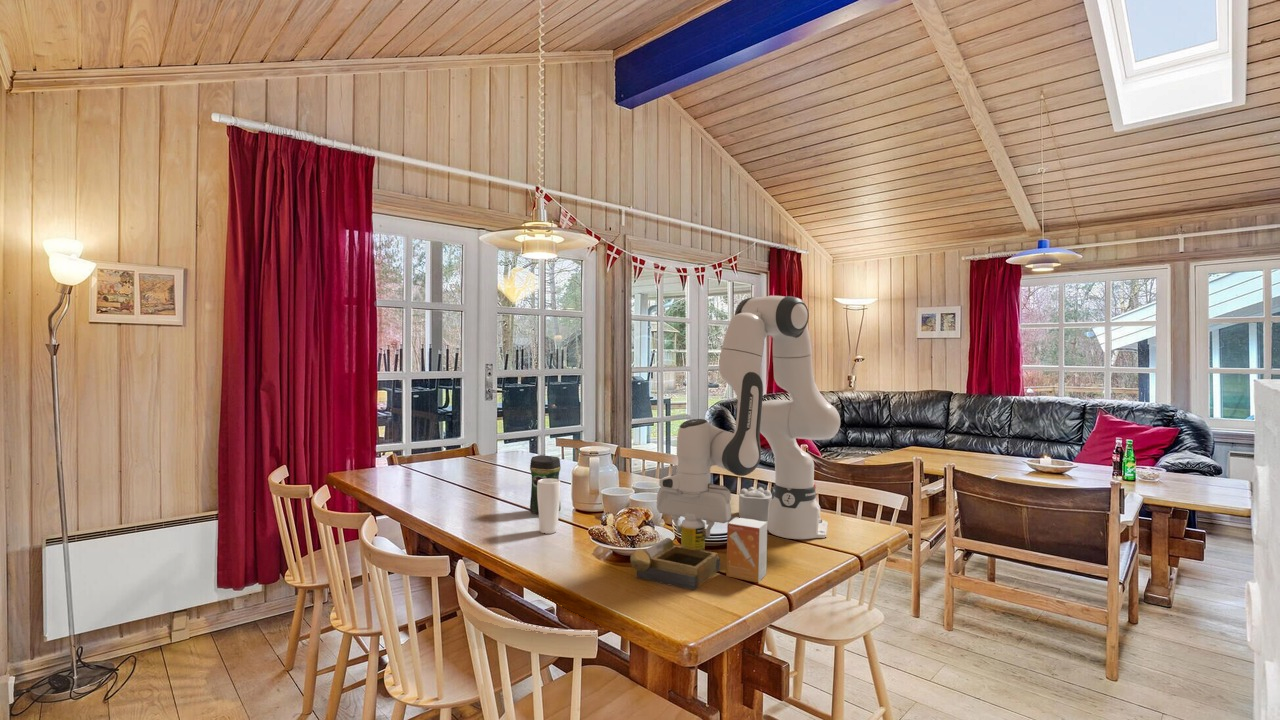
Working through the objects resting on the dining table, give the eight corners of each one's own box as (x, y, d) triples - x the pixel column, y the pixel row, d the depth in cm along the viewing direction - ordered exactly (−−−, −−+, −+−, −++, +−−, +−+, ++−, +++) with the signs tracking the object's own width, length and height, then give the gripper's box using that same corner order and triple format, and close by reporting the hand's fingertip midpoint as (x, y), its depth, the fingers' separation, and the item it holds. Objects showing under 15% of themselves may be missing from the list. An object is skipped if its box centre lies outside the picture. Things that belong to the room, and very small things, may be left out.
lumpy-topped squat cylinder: (737, 519, 196) (738, 492, 196) (740, 509, 209) (740, 483, 209) (771, 522, 194) (771, 494, 194) (772, 511, 207) (772, 485, 206)
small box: (725, 577, 148) (726, 522, 147) (735, 568, 153) (735, 516, 153) (758, 583, 144) (759, 527, 143) (767, 574, 149) (767, 521, 149)
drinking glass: (562, 528, 185) (562, 478, 185) (557, 535, 178) (557, 483, 178) (540, 527, 186) (540, 477, 185) (534, 534, 179) (534, 482, 178)
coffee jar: (564, 511, 204) (564, 455, 204) (550, 517, 197) (551, 459, 197) (540, 507, 208) (540, 452, 208) (525, 513, 201) (526, 456, 201)
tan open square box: (662, 557, 160) (662, 531, 160) (719, 569, 152) (720, 541, 152) (630, 578, 146) (630, 548, 146) (691, 592, 138) (692, 561, 138)
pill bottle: (698, 559, 158) (698, 517, 158) (676, 555, 162) (677, 513, 161) (708, 552, 163) (709, 511, 163) (688, 548, 167) (688, 507, 166)
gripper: (735, 484, 159) (734, 537, 160) (664, 475, 170) (664, 525, 170) (725, 489, 154) (725, 544, 154) (653, 479, 164) (653, 531, 165)
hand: (693, 534), depth 162 cm, fingers closed on pill bottle, 6 cm apart
